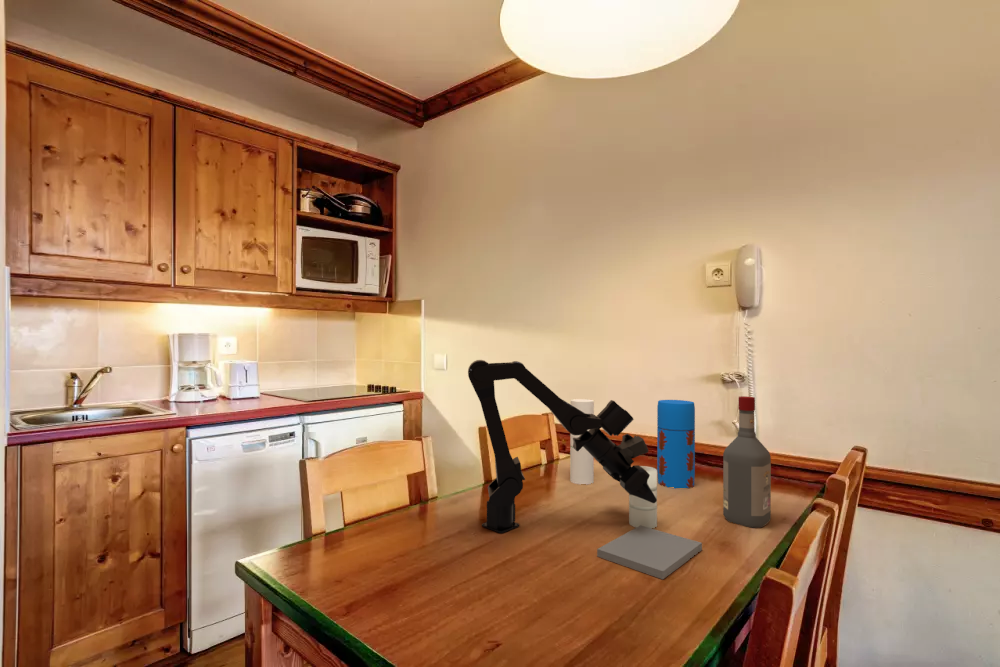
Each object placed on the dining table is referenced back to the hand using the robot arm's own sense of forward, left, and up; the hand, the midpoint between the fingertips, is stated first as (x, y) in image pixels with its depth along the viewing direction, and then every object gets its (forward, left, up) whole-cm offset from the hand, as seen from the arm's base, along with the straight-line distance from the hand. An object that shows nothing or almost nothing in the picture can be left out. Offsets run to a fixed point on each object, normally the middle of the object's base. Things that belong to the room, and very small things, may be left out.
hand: (648, 495), depth 119 cm
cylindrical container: (+19, +32, -7) cm, 38 cm away
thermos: (+37, +10, -7) cm, 39 cm away
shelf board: (-15, -8, -7) cm, 18 cm away
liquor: (+19, -16, -7) cm, 26 cm away
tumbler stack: (-1, +1, -7) cm, 7 cm away
